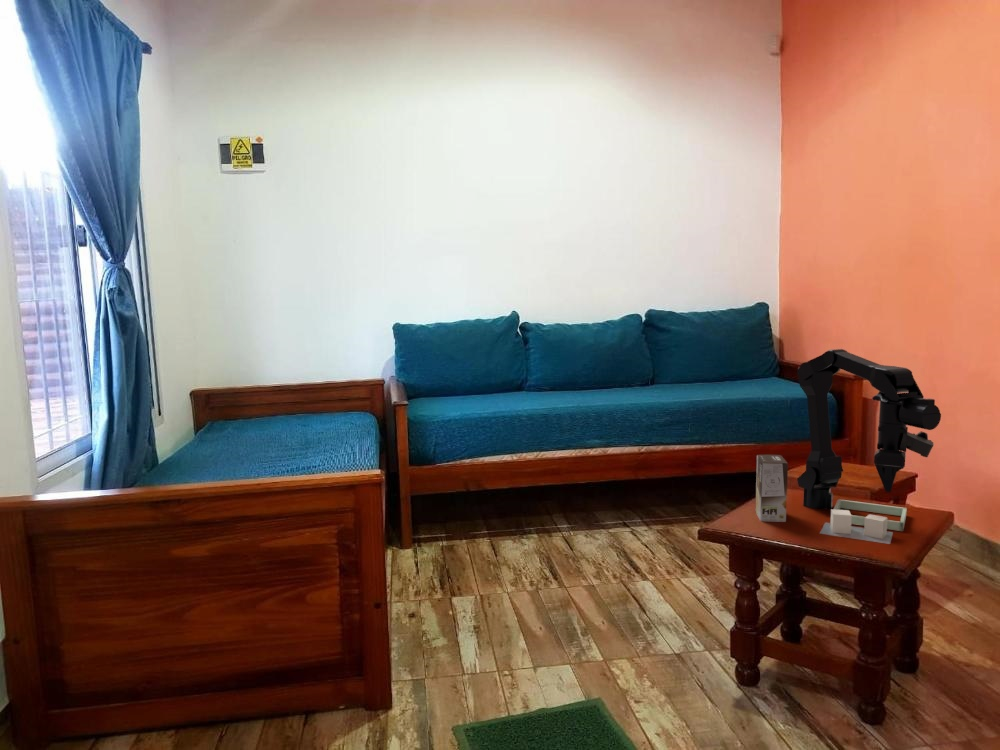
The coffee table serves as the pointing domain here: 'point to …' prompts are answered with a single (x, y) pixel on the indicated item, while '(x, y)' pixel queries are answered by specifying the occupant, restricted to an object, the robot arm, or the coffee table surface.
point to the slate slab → (857, 534)
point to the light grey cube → (875, 526)
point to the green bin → (876, 509)
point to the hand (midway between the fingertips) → (888, 486)
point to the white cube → (840, 521)
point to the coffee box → (771, 488)
